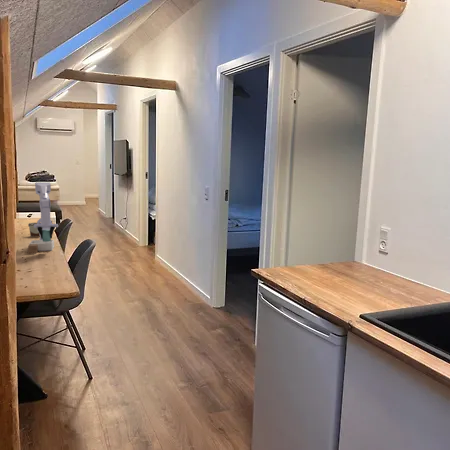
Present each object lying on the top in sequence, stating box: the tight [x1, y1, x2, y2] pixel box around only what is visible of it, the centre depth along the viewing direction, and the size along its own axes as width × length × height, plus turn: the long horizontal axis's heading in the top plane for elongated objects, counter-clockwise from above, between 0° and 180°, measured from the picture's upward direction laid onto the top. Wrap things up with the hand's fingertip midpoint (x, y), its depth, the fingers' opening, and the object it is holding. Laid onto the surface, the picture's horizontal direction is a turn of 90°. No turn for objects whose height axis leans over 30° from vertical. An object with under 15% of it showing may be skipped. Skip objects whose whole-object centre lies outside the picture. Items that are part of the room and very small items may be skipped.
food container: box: [27, 222, 40, 237], centre depth 346 cm, size 12×6×10 cm, turn 84°
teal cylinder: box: [42, 230, 52, 242], centre depth 291 cm, size 5×5×7 cm
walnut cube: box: [27, 243, 39, 254], centre depth 290 cm, size 5×5×5 cm
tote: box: [28, 239, 55, 252], centre depth 300 cm, size 12×14×5 cm
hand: (46, 238), depth 291 cm, fingers closed on teal cylinder, 5 cm apart
